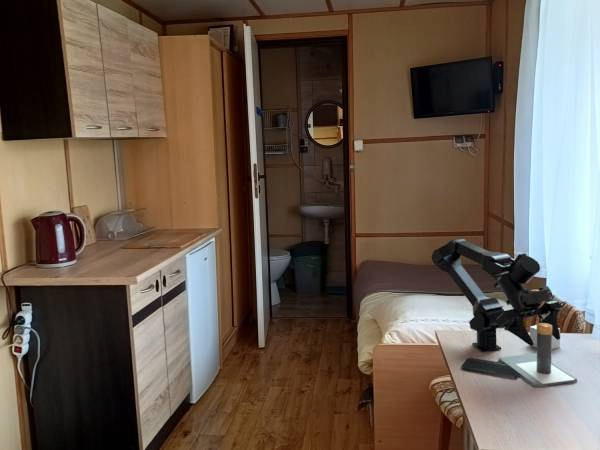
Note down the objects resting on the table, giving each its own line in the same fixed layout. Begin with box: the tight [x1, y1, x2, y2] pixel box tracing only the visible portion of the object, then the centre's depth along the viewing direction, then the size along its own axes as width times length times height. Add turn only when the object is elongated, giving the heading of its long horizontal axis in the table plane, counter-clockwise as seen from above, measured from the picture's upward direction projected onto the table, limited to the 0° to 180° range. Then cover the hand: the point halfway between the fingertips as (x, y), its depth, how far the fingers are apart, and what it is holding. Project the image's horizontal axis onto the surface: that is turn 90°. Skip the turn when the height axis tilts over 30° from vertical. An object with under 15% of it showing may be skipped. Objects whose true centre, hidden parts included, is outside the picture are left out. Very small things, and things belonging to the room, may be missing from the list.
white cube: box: [529, 324, 561, 350], centre depth 162 cm, size 6×6×6 cm
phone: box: [461, 357, 520, 380], centre depth 148 cm, size 8×1×15 cm
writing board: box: [498, 352, 578, 388], centre depth 146 cm, size 18×12×1 cm, turn 8°
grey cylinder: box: [536, 322, 553, 374], centre depth 142 cm, size 4×4×13 cm
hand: (545, 342), depth 141 cm, fingers open, 9 cm apart
